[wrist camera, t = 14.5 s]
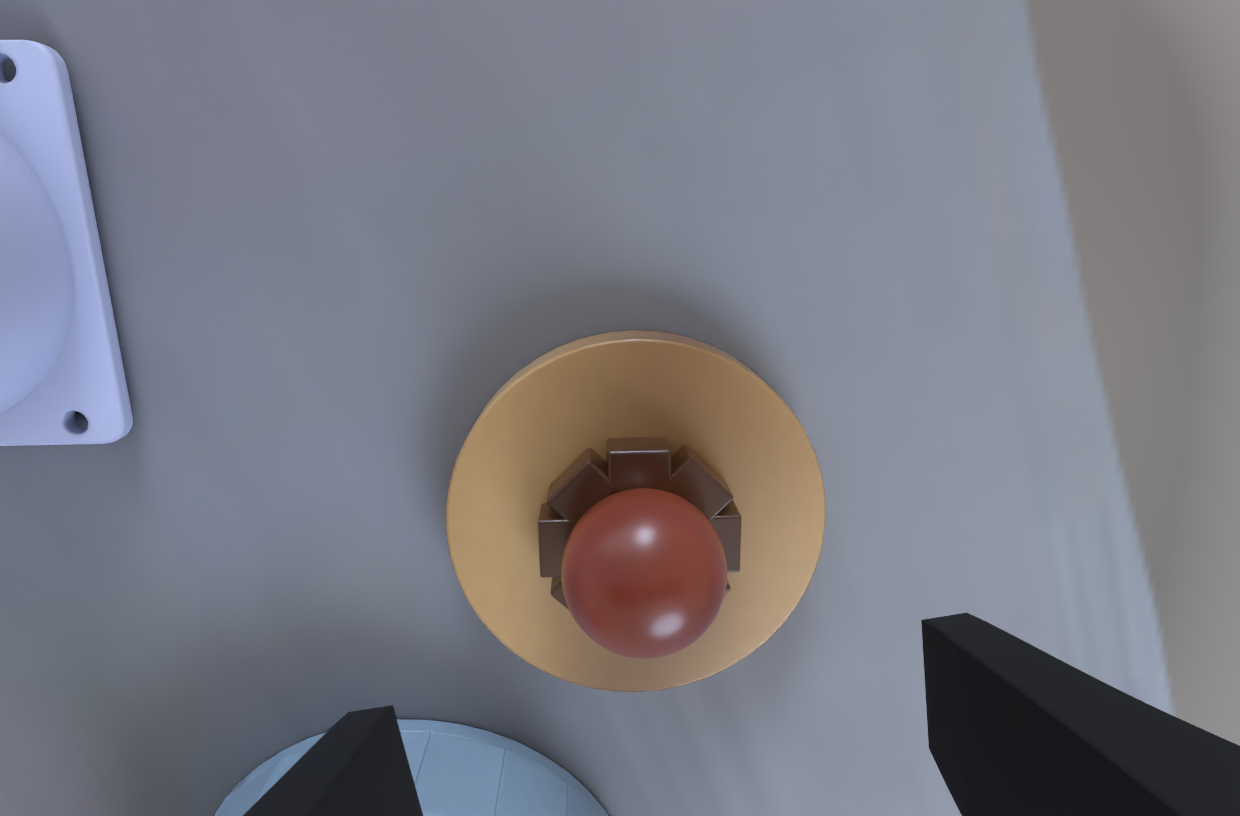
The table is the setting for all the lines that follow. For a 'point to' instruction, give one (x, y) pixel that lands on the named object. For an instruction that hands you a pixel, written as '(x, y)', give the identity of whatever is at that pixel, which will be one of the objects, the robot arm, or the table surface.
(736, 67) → the table surface
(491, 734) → the light blue bowl
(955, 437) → the table surface
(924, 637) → the robot arm
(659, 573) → the ball
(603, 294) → the table surface
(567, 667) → the holder
